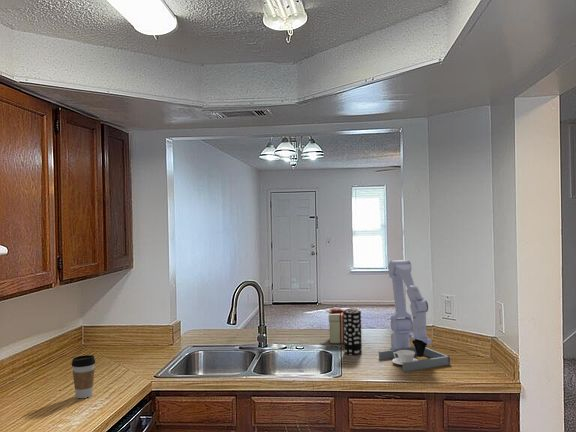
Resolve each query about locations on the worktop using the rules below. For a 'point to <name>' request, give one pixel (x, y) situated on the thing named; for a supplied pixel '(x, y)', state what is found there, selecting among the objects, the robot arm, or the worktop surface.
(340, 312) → the gift box
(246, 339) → the worktop surface
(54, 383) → the worktop surface
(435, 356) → the cubby
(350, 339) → the spotted tube
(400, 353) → the teacup
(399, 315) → the robot arm
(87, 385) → the coffee cup
